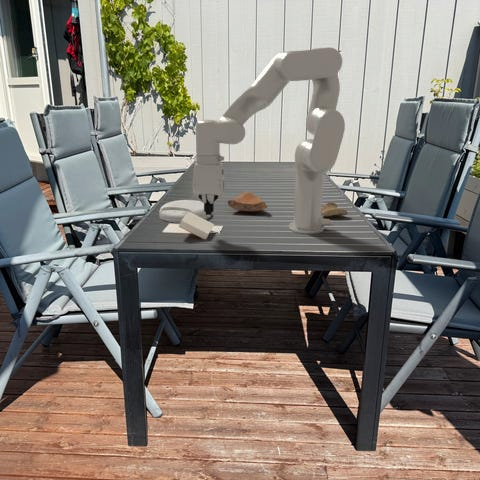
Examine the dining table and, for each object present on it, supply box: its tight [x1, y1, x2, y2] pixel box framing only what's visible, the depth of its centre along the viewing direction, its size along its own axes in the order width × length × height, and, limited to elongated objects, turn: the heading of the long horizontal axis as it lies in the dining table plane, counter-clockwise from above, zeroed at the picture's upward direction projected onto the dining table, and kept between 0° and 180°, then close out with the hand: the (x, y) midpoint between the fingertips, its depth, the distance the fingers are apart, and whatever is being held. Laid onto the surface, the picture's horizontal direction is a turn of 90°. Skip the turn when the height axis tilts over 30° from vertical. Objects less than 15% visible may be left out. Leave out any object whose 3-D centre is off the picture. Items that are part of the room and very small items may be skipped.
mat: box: [162, 222, 224, 234], centre depth 158 cm, size 20×20×1 cm
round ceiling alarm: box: [158, 199, 212, 224], centre depth 180 cm, size 25×25×6 cm
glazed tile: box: [179, 212, 215, 240], centre depth 156 cm, size 2×10×10 cm
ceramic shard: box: [227, 190, 268, 212], centre depth 187 cm, size 15×6×15 cm
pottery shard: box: [321, 202, 349, 217], centre depth 181 cm, size 11×4×10 cm
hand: (208, 213), depth 154 cm, fingers closed
